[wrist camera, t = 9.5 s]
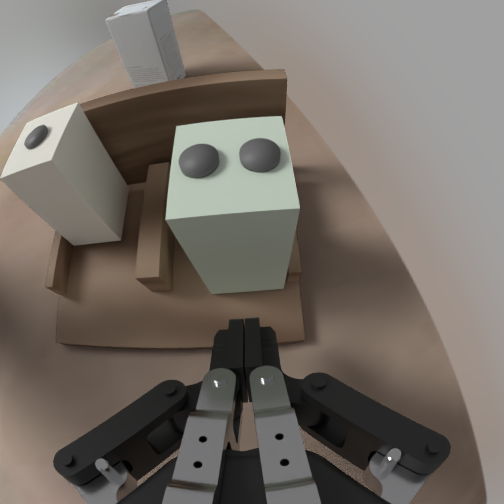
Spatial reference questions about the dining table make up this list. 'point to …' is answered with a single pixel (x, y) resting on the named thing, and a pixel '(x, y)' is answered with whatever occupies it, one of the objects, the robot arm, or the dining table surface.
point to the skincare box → (147, 43)
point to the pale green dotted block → (234, 202)
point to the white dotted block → (68, 177)
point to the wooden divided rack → (163, 228)
